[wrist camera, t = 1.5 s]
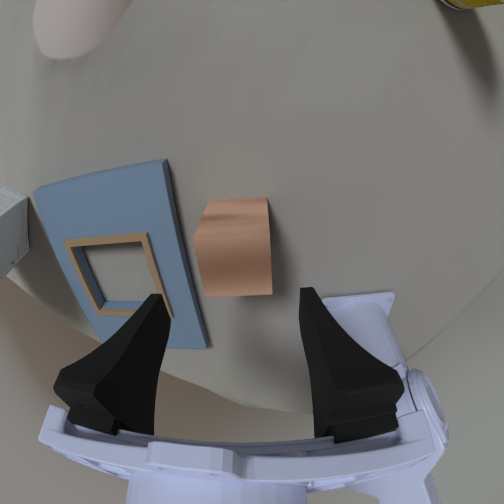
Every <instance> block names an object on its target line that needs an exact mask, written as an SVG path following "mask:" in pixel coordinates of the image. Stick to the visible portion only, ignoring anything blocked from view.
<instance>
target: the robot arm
mask: <svg viewBox="0 0 504 504" xmlns="http://www.w3.org/2000/svg"><path fill="white" fill-rule="evenodd" d="M394 298H395V294H394V292H382V293H373V294H363V295H352V296H340V297H328V298H323V299H322V300H321V299H320V298H319V296H318V294H317V293H316V291H315V289H314V288H313V287H307V288H300V303H299V323H300V332H301V337H302V342H303V346H304V350H305V355H306V359H307V364H308V368H309V374H310V381H311V391H312V402H313V416H314V436H315V438H313V439H304V440H293V441H279V442H257V443H255V442H254V443H233V442H208V441H194V440H184V439H175V438H174V439H173V438H167V437H159V436H154V412H155V398H156V388H157V382H158V375H159V371H160V367H161V364H162V360H163V356H164V353H165V349H166V346H167V342H168V339H169V333H170V327H171V318H170V316H169V313H168V310H167V307H166V305H165V302H164V299H163V296H162V294H151V295H150V296H149V297H148V298H147V299H146V300H145V301H144V302H143V304H142V305H141V306H140V307H139V308H138V309H137V310H136V312H135V313H134V314H133V315H132V316H131V317H130V318H129V319H128V320H127V321H126V322H125V323H124V325H123V326H122V327H121V328H120V329H119V330H118V331H117V332H116V333H115V334H113V335H112V336H111V337H110V338H109V339H108V340H107V341H106V342H104V343H103V344H102V345H101V346H99V347H98V348H97V349H95V350H94V351H92V352H91V353H90V354H88V355H87V356H85V357H83V358H82V359H80V360H78V361H77V362H75V363H73V364H71V365H69V366H67V367H65V368H63V369H61V370H60V373H59V375H58V377H57V379H56V382H55V384H54V386H53V389H54V391H55V393H56V394H57V395H58V396H59V397H60V398H61V399H62V400H63V401H64V402H65V403H66V404H67V405H68V406H69V407H70V410H69V412H68V411H67V410H65V409H62V408H59V407H57V406H53V405H50V407H49V409H48V412H47V415H46V417H45V420H44V423H43V426H42V429H41V432H40V435H39V438H38V440H39V441H40V442H42V443H43V444H45V445H46V446H48V447H49V448H51V449H53V450H54V451H56V452H57V453H59V454H61V455H62V456H64V457H67V458H69V459H71V460H74V461H76V462H79V463H81V464H84V465H86V466H89V467H91V468H94V469H97V470H99V471H102V472H105V473H108V474H111V475H114V476H117V477H120V478H123V479H127V480H129V486H128V492H127V498H126V504H307V497H306V493H313V492H319V491H325V490H330V489H335V488H340V487H345V488H348V489H351V490H354V491H357V492H360V493H364V494H368V495H372V496H375V497H377V499H378V502H379V504H441V502H440V499H439V496H438V493H437V490H436V488H435V484H434V482H433V479H432V476H431V473H430V471H431V470H432V469H433V467H434V466H435V465H436V463H437V462H438V460H439V459H440V458H441V456H442V455H443V453H444V452H445V450H446V448H447V445H448V439H449V431H448V426H447V424H446V421H445V418H444V413H443V410H442V406H441V404H440V401H439V398H438V396H437V393H436V391H435V389H434V387H433V385H432V383H431V381H430V380H429V378H428V376H427V375H426V374H425V373H424V372H423V371H420V370H417V369H412V370H411V371H409V369H408V366H407V363H406V361H405V358H404V356H403V353H402V351H401V348H400V346H399V343H398V341H397V339H396V336H395V334H394V332H393V329H392V327H391V325H390V322H389V320H388V316H389V313H390V310H391V307H392V304H393V301H394ZM389 299H390V300H389ZM325 306H326V307H325Z"/></svg>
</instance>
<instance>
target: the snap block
mask: <svg viewBox="0 0 504 504" xmlns="http://www.w3.org/2000/svg"><path fill="white" fill-rule="evenodd" d="M193 242H194V247H195V252H196V257H197V262H198V266H199V271H200V275H201V280H202V284H203V289H204V293H205V297H221V296H249V295H271V294H272V270H271V247H270V229H269V216H268V205H267V197H257V198H241V199H227V200H214V201H208V203H207V206H206V208H205V210H204V213H203V215H202V218H201V220H200V222H199V225H198V227H197V230H196V232H195V235H194V237H193Z"/></svg>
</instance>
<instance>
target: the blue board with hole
mask: <svg viewBox="0 0 504 504" xmlns="http://www.w3.org/2000/svg"><path fill="white" fill-rule="evenodd" d="M33 194H34V197H35V200H36V204H37V207H38V210H39V213H40V216H41V219H42V221H43V224H44V227H45V230H46V232H47V235H48V238H49V240H50V243H51V245H52V248H53V250H54V252H55V255H56V257H57V259H58V262H59V264H60V266H61V268H62V271H63V273H64V275H65V277H66V279H67V281H68V283H69V285H70V287H71V289H72V291H73V293H74V295H75V297H76V299H77V301H78V303H79V305H80V307H81V309H82V310H83V312H84V314H85V316H86V318H87V319H88V321H89V323H90V324H91V326H92V328H93V330H94V331H95V333H96V335H97V336H98V338H99V339H100V341H101V342H106V341H107V340H108V339H109V338H110V337H111V336H112V335H113V334H115V333H116V332H117V331H118V330H119V329H120V328H121V327H122V326H123V325H124V323H125V322H126V321H127V320H128V319H129V318H130V317H131V316H132V315H133V314H134V313H135V312H136V310H137V309H138V308H139V307H140V306H141V305H142V304H143V302H119V301H104V298H103V296H102V294H101V292H100V290H99V288H98V286H97V283H96V281H95V279H94V277H93V274H92V272H91V270H90V267H89V265H88V262H87V260H86V257H85V255H84V252H83V250H82V247H81V246H88V245H99V244H112V243H124V242H137V241H141V242H142V245H143V249H144V252H145V255H146V258H147V262H148V265H149V268H150V271H151V274H152V277H153V280H154V283H155V286H156V289H157V292H158V294H162V296H163V299H164V302H165V305H166V307H167V310H168V313H169V316H170V318H171V327H170V333H169V339H168V342H167V346H166V348H189V349H207V344H208V339H207V335H206V332H205V328H204V325H203V321H202V317H201V314H200V310H199V306H198V302H197V299H196V295H195V291H194V287H193V283H192V279H191V275H190V271H189V266H188V262H187V258H186V254H185V249H184V245H183V240H182V236H181V231H180V227H179V222H178V217H177V212H176V207H175V202H174V197H173V192H172V186H171V181H170V175H169V169H168V164H167V159H164V160H157V161H151V162H145V163H140V164H134V165H129V166H124V167H118V168H114V169H109V170H104V171H100V172H95V173H91V174H87V175H83V176H79V177H75V178H71V179H67V180H63V181H60V182H56V183H52V184H49V185H45V186H42V187H40V188H38V189H36V190H35V191H33Z"/></svg>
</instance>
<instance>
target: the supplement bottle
mask: <svg viewBox="0 0 504 504" xmlns="http://www.w3.org/2000/svg"><path fill="white" fill-rule="evenodd" d="M440 1H441V2H443V3H444V4H445V5H447V6H449V7H451V8H453V9H456V10H466V9H471V8H477V7H484V6H490V5H498V4H504V0H440Z"/></svg>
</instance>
